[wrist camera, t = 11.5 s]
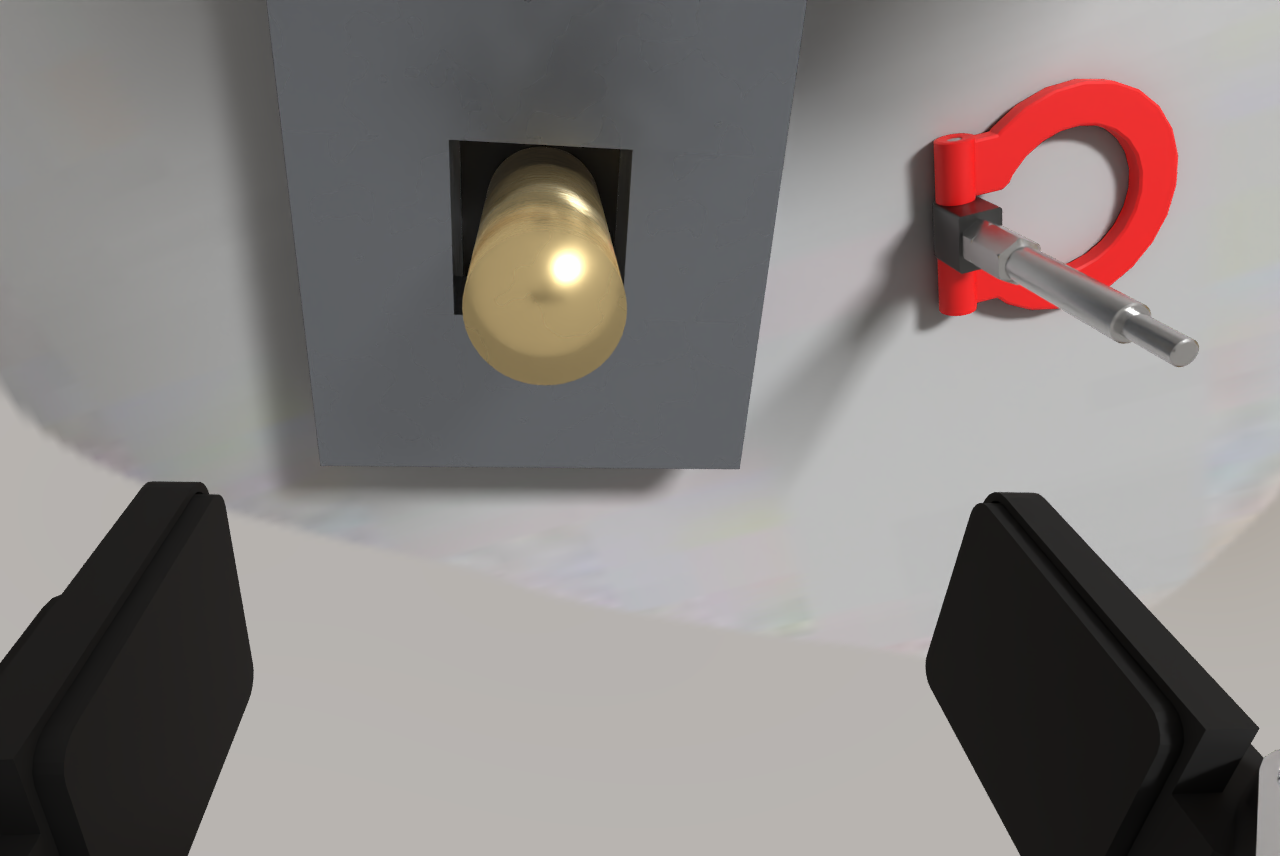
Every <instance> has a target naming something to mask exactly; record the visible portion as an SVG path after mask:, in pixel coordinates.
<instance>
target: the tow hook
mask: <svg viewBox="0 0 1280 856" xmlns="http://www.w3.org/2000/svg"><path fill="white" fill-rule="evenodd" d="M1094 125H1096V126H1099V127H1102V128H1104V129H1105V130H1107V131H1108V132H1109V133H1111V134H1112V135H1113V136H1114V137H1116V138H1117V140H1118V142H1119V143H1120V145H1121V146H1122V148H1123V150H1124V151H1125V154H1126V158H1127V162H1128V166H1129V186H1128V191H1127V195H1126V198H1125V202H1124V206H1123V208H1122V210H1121V212H1120V214H1119V216H1118V218H1117V220H1116V222H1115V223H1114V225H1113V226H1112V228H1111V229H1110V230H1109V231H1108V233H1107V234H1106V235H1105V236H1104V238H1103V239H1102V240H1101V241H1100V242H1099V243H1098V244H1097V245H1095V246H1094V247H1093V248H1092V249H1091V250H1090V251H1088V252H1087V253H1086V254H1084V255H1082V256H1081V257H1079V258H1077V259H1075V260H1074V261H1072V262H1070V263H1067V264H1064V263H1062V262H1060V261H1058V260H1056V259H1054V258H1052V257H1050V256H1049V255H1047V254H1045V253H1043V252H1041V248H1040V245H1039V244H1038V243H1036V242H1034V241H1032V240H1030V239H1028V238H1026V237H1024V236H1022V235H1020V234H1018V233H1016V232H1014V231H1012V230H1009V229H1008V228H1006V227H1004V226H1002V208H1000V207H998V206H996V205H994V204H992V203H990V202H988V201H985V200H983V199H981V198H979V197H977V195H981V194H985V193H989V192H993V191H997V190H1001V189H1003V188H1004V187H1005V186H1006V185H1007V184H1008V183H1009V182H1010V180H1011V177H1012V175H1013V174H1014V172H1015V171H1016V169H1017V168H1018V167H1019V165H1020V164H1021V163H1022V161H1023V160H1024V158H1025V157H1026V156H1027V155H1028V154H1029V153H1030V152H1031V151H1033V150H1034V149H1035V148H1036V147H1037V146H1038V145H1039V144H1040V143H1041V142H1043V141H1044V140H1046V139H1048V138H1050V137H1051V136H1053V135H1055V134H1056V133H1058V132H1060V131H1063V130H1066V129H1070V128H1073V127H1077V126H1094ZM1177 164H1178V153H1177V148H1176V144H1175V139H1174V134H1173V130H1172V127H1171V126H1170V124H1169V122H1168V120H1167V119H1166V117H1165V115H1164V113H1163V112H1162V110H1161V108H1160V107H1159V105H1157V104H1156V103H1155V102H1154V101H1152V100H1151V99H1150V98H1149V97H1148V96H1146V95H1145V94H1144V93H1143V92H1142V91H1140V90H1139V89H1136V88H1133V87H1130V86H1127V85H1124V84H1121V83H1118V82H1115V81H1111V80H1105V79H1073V80H1070V81H1067V82H1063V83H1060V84H1056V85H1053V86H1050V87H1046V88H1044V89H1042V90H1040V91H1039V92H1037V93H1035V94H1034V95H1032V96H1030V97H1029V98H1027V99H1025V100H1023V101H1022V102H1020V103H1018V104H1017V105H1015V106H1014V107H1013V108H1012V109H1011V110H1010V111H1009V112H1008V113H1007V114H1006V115H1005V116H1004V117H1003V118H1002V119H1000V120H999V121H998V122H997V123H996V124H995V125H994V126H993V127H992V128H991V129H990V131H989V132H985V133H981V134H977V135H973V134H966V133H958V134H950V135H946V136H942V137H940V138H937V139H935V140H934V170H935V200H936V201H935V202H934V203H933V225H934V253H935V256H936V258H937V260H938V291H939V311H940V312H941V313H942V314H945V315H950V316H961V315H966V314H970V313H972V312H974V311H975V310H976V308H977V303H978V302H982V301H986V300H990V299H994V298H998V299H1000V300H1002V301H1003V302H1005V303H1006V304H1009V305H1013V306H1017V307H1021V308H1025V309H1029V310H1040V309H1058V308H1060V309H1062V310H1063V311H1065V312H1067V313H1068V314H1070V315H1072V316H1074V317H1075V318H1077V319H1079V320H1080V321H1082V322H1084V323H1085V324H1087V325H1089V326H1090V327H1092V328H1094V329H1096V330H1097V331H1099V332H1101V333H1102V334H1104V335H1106V336H1107V337H1109V338H1111V339H1112V340H1114V341H1116V342H1118V343H1122V344H1125V343H1130V342H1134V343H1135V344H1137V345H1139V346H1140V347H1142V348H1144V349H1146V350H1147V351H1149V352H1151V353H1153V354H1154V355H1156V356H1158V357H1160V358H1161V359H1163V360H1165V361H1166V362H1168V363H1170V364H1172V365H1173V366H1175V367H1183V366H1186V365H1188V364H1189V363H1191V362H1192V361H1193V360H1194V359H1195V358H1196V356H1197V354H1198V351H1199V345H1198V343H1197V341H1196V340H1194V339H1192V338H1190V337H1188V336H1186V335H1184V334H1182V333H1180V332H1178V331H1177V330H1175V329H1173V328H1171V327H1169V326H1167V325H1165V324H1163V323H1161V322H1159V321H1157V320H1156V319H1154V318H1152V317H1151V312H1150V309H1149V308H1148V307H1147V306H1146V305H1145V304H1143V303H1141V302H1139V301H1137V300H1135V299H1133V298H1131V297H1129V296H1127V295H1125V294H1123V293H1121V292H1119V291H1117V290H1115V289H1113V288H1111V287H1109V286H1110V285H1112V284H1113V283H1114V282H1115V281H1116V280H1117V279H1119V278H1120V277H1121V276H1122V275H1123V274H1125V273H1126V272H1127V271H1128V270H1129V269H1130V268H1132V267H1133V266H1134V264H1135V263H1136V262H1137V261H1138V259H1139V258H1140V257H1141V256H1142V255H1143V253H1144V252H1145V251H1146V250H1147V248H1148V247H1149V246H1150V245H1151V243H1152V242H1153V240H1154V239H1155V237H1156V235H1157V233H1158V231H1159V229H1160V227H1161V225H1162V224H1163V222H1164V220H1165V218H1166V216H1167V214H1168V211H1169V208H1170V204H1171V201H1172V197H1173V194H1174V191H1175V187H1176V181H1177Z"/></svg>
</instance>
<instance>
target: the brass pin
mask: <svg viewBox="0 0 1280 856" xmlns="http://www.w3.org/2000/svg"><path fill="white" fill-rule="evenodd" d="M462 311H463V320H464V324H465V328H466V331H467V334H468V336H469V339H470V340H471V342H472V344H473V346H474V348H475V349H476V350H477V352H478V353H479V354H480V356H481V357H482V358H483V359H484V360H485V361H486V362H487V363H488V364H489V365H491V366H492V367H493V368H494V369H496V370H497V371H499V372H500V373H502V374H504V375H505V376H508V377H510V378H512V379H514V380H517V381H520V382H523V383H528V384H533V385H558V384H564V383H568V382H571V381H575V380H577V379H579V378H582V377H584V376H586V375H587V374H589V373H591V372H593V371H594V370H595V369H597V368H598V367H599V366H601V365H602V364H603V363H604V362H605V361H606V360H607V359H608V358H609V356H610V355H611V354H612V353H613V351H614V350H615V348H616V346H617V345H618V343H619V341H620V339H621V336H622V334H623V331H624V327H625V324H626V317H627V301H626V294H625V290H624V286H623V282H622V279H621V275H620V271H619V267H618V264H617V260H616V256H615V252H614V249H613V245H612V241H611V237H610V234H609V230H608V226H607V222H606V219H605V215H604V211H603V207H602V203H601V200H600V196H599V192H598V189H597V185H596V183H595V180H594V178H593V176H592V175H591V173H590V171H589V170H588V169H587V168H586V166H585V165H584V164H583V163H582V162H581V161H580V160H579V159H577V158H576V157H575V156H573V155H571V154H570V153H568V152H566V151H564V150H561V149H558V148H554V147H548V146H535V147H529V148H526V149H522V150H520V151H518V152H516V153H514V154H512V155H511V156H509V157H508V158H507V159H506V160H504V161H503V162H502V163H501V165H500V166H499V167H498V168H497V170H496V171H495V173H494V174H493V176H492V178H491V181H490V184H489V187H488V191H487V195H486V200H485V204H484V208H483V212H482V216H481V221H480V225H479V229H478V233H477V238H476V242H475V246H474V250H473V255H472V259H471V263H470V267H469V272H468V276H467V280H466V284H465V289H464V294H463V302H462Z"/></svg>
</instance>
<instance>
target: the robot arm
mask: <svg viewBox="0 0 1280 856" xmlns="http://www.w3.org/2000/svg"><path fill="white" fill-rule="evenodd" d="M253 671H254V670H253V662H252V656H251V651H250V645H249V639H248V633H247V627H246V621H245V616H244V610H243V604H242V598H241V593H240V587H239V581H238V576H237V570H236V564H235V558H234V553H233V547H232V541H231V535H230V529H229V524H228V518H227V512H226V506H225V503H224V500H223V498H222V496H220V495H212V494H209V492H208V490H207V488H206V486H205V485H204V484H203V483H201V482H153V481H152V482H147V483H146V484H145V485H144V486H143V487H142V488H141V490H140V491H139V492H138V494H137V495H136V496H135V498H134V499H133V500H132V502H131V503H130V504H129V506H128V507H127V508H126V510H125V511H124V512H123V513H122V515H121V516H120V517H119V519H118V520H117V521H116V523H115V524H114V525H113V527H112V528H111V530H110V531H109V532H108V533H107V535H106V536H105V537H104V539H103V540H102V541H101V543H100V544H99V545H98V547H97V548H96V549H95V551H94V552H93V553H92V555H91V556H90V557H89V559H88V560H87V561H86V563H85V564H84V565H83V567H82V568H81V569H80V571H79V572H78V574H77V575H76V576H75V577H74V579H73V580H72V581H71V583H70V584H69V585H68V587H67V588H66V589H65V590H64V592H63V593H62V594H61V595H59V596H56V597H54V598H52V599H51V600H50V601H49V602H48V603H47V604H46V605H45V606H44V607H43V608H42V609H41V611H40V612H39V613H38V614H37V616H36V617H35V618H34V620H33V621H32V622H31V624H30V625H29V626H28V627H27V629H26V630H25V631H24V633H23V634H22V635H21V637H20V638H19V639H18V641H17V642H16V643H15V644H14V646H13V647H12V648H11V650H10V651H9V652H8V654H7V655H6V656H5V657H4V659H3V660H2V662H1V663H0V856H188V853H189V851H190V848H191V846H192V843H193V841H194V838H195V836H196V833H197V830H198V828H199V825H200V823H201V820H202V818H203V815H204V813H205V810H206V808H207V805H208V802H209V800H210V797H211V795H212V792H213V789H214V787H215V785H216V782H217V779H218V777H219V774H220V772H221V769H222V767H223V764H224V762H225V759H226V757H227V754H228V752H229V749H230V746H231V744H232V741H233V739H234V736H235V734H236V731H237V729H238V726H239V724H240V721H241V718H242V716H243V713H244V711H245V708H246V706H247V703H248V701H249V697H250V695H251V691H252V686H253V685H252V684H253ZM926 675H927V680H928V683H929V685H930V688H931V690H932V691H933V693H934V695H935V697H936V699H937V701H938V703H939V705H940V706H941V708H942V710H943V712H944V714H945V716H946V718H947V719H948V721H949V723H950V725H951V727H952V729H953V731H954V732H955V734H956V736H957V738H958V740H959V742H960V743H961V745H962V747H963V749H964V751H965V753H966V755H967V757H968V759H969V760H970V762H971V764H972V766H973V768H974V770H975V772H976V774H977V775H978V777H979V779H980V781H981V783H982V785H983V787H984V788H985V790H986V792H987V794H988V796H989V798H990V800H991V801H992V803H993V805H994V807H995V809H996V811H997V813H998V814H999V816H1000V818H1001V820H1002V822H1003V824H1004V826H1005V828H1006V829H1007V831H1008V833H1009V835H1010V837H1011V839H1012V841H1013V843H1014V844H1015V846H1016V848H1017V850H1018V852H1019V854H1020V856H1280V749H1279V750H1275V751H1273V752H1271V753H1270V754H1268V755H1267V756H1265V757H1264V758H1263V757H1262V756H1261V755H1260V753H1259V752H1258V751H1257V750H1256V749H1255V748H1254V747H1253V746H1252V745H1251V742H1252V740H1253V739H1254V737H1255V735H1256V733H1257V732H1258V730H1259V727H1258V726H1257V725H1256V724H1255V723H1254V722H1253V721H1252V720H1251V719H1250V718H1249V717H1248V715H1247V714H1246V713H1245V712H1244V711H1243V710H1242V709H1241V708H1240V707H1239V706H1238V705H1237V704H1236V703H1235V702H1234V700H1233V699H1232V698H1231V697H1230V696H1229V695H1228V694H1227V693H1226V692H1225V691H1224V690H1223V689H1222V688H1221V687H1220V686H1219V684H1218V683H1217V682H1216V681H1215V680H1214V679H1213V678H1212V677H1211V676H1210V675H1209V674H1208V673H1207V672H1206V671H1205V670H1204V668H1203V667H1202V666H1201V665H1200V664H1199V663H1198V662H1197V661H1196V660H1195V659H1194V658H1193V657H1192V656H1191V655H1190V654H1189V653H1188V651H1187V650H1186V649H1185V648H1184V647H1183V646H1182V645H1181V644H1180V643H1179V642H1178V641H1177V640H1176V639H1175V637H1174V636H1173V635H1172V634H1171V633H1170V632H1169V631H1168V630H1167V629H1166V628H1165V627H1164V626H1163V625H1162V624H1161V622H1160V621H1159V620H1158V619H1157V618H1156V617H1155V616H1154V615H1153V614H1152V613H1151V612H1150V611H1149V610H1148V609H1147V608H1146V606H1145V605H1144V604H1143V603H1142V602H1141V601H1140V600H1139V599H1138V598H1137V597H1136V596H1135V595H1134V594H1133V593H1132V591H1131V590H1130V589H1129V588H1128V587H1127V586H1126V585H1125V584H1124V583H1123V582H1122V581H1121V580H1120V579H1119V578H1118V577H1117V575H1116V574H1115V573H1114V572H1113V571H1112V570H1111V569H1110V568H1109V567H1108V566H1107V565H1106V564H1105V563H1104V562H1103V561H1102V559H1101V558H1100V557H1099V556H1098V555H1097V554H1096V553H1095V552H1094V551H1093V550H1092V549H1091V548H1090V547H1089V546H1088V544H1087V543H1086V542H1085V541H1084V540H1083V539H1082V538H1081V537H1080V536H1079V535H1078V534H1077V533H1076V532H1075V531H1074V530H1073V528H1072V527H1071V526H1070V525H1069V524H1068V523H1067V522H1066V521H1065V520H1064V519H1063V518H1062V517H1061V516H1060V515H1059V513H1058V512H1057V511H1056V510H1055V509H1054V508H1053V507H1052V506H1051V505H1050V504H1049V503H1048V502H1047V501H1046V500H1045V499H1044V498H1043V497H1042V496H1041V495H1039V494H1037V493H1012V492H994V493H992V494H989V496H988V497H987V498H986V499H985V501H984V503H979V504H977V505H976V506H975V507H974V508H973V510H972V512H971V514H970V518H969V521H968V524H967V527H966V531H965V534H964V537H963V540H962V544H961V547H960V550H959V553H958V557H957V560H956V563H955V566H954V569H953V573H952V576H951V579H950V582H949V586H948V589H947V592H946V595H945V599H944V602H943V605H942V608H941V612H940V615H939V618H938V621H937V625H936V628H935V631H934V634H933V637H932V641H931V644H930V647H929V650H928V654H927V658H926Z"/></svg>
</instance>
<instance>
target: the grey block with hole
mask: <svg viewBox="0 0 1280 856" xmlns="http://www.w3.org/2000/svg"><path fill="white" fill-rule="evenodd" d="M266 1H267V10H268V18H269V27H270V36H271V44H272V53H273V61H274V70H275V79H276V87H277V96H278V104H279V113H280V122H281V130H282V139H283V147H284V156H285V165H286V173H287V182H288V190H289V199H290V208H291V216H292V225H293V234H294V242H295V251H296V259H297V268H298V277H299V285H300V294H301V302H302V311H303V320H304V328H305V337H306V345H307V354H308V363H309V371H310V380H311V388H312V397H313V406H314V414H315V423H316V431H317V440H318V449H319V457H320V466H422V467H543V468H663V469H740V462H741V455H742V448H743V441H744V434H745V427H746V420H747V413H748V406H749V399H750V392H751V386H752V379H753V372H754V365H755V358H756V351H757V344H758V337H759V330H760V323H761V316H762V309H763V302H764V295H765V288H766V281H767V274H768V267H769V261H770V254H771V247H772V240H773V233H774V226H775V219H776V212H777V205H778V198H779V191H780V184H781V177H782V170H783V163H784V156H785V149H786V142H787V136H788V129H789V122H790V115H791V108H792V101H793V94H794V87H795V80H796V73H797V66H798V59H799V52H800V45H801V38H802V31H803V24H804V17H805V11H806V4H807V0H266ZM460 140H464V141H483V142H501V143H519V144H537V145H556V146H574V147H592V148H611V149H620V165H619V182H618V199H617V216H616V233H615V250H614V252H615V256H616V260H617V264H618V267H619V271H620V275H621V279H622V282H623V286H624V290H625V294H626V301H627V317H626V324H625V327H624V331H623V334H622V336H621V339H620V341H619V343H618V345H617V346H616V348H615V350H614V351H613V353H612V354H611V355H610V356H609V358H608V359H607V360H606V361H605V362H604V363H603V364H602V365H601V366H599V367H598V368H597V369H595V370H594V371H593V372H591V373H589V374H587V375H586V376H584V377H582V378H579V379H577V380H575V381H571V382H568V383H564V384H558V385H533V384H528V383H523V382H520V381H517V380H514V379H512V378H510V377H508V376H505V375H504V374H502V373H500V372H499V371H497V370H496V369H494V368H493V367H492V366H491V365H489V364H488V363H487V362H486V361H485V360H484V359H483V358H482V357H481V356H480V354H479V353H478V352H477V350H476V349H475V348H474V346H473V344H472V342H471V340H470V339H469V336H468V334H467V331H466V328H465V324H464V320H463V311H462V302H463V294H464V289H465V284H466V280H467V276H463V245H462V204H461V164H460Z"/></svg>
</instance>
